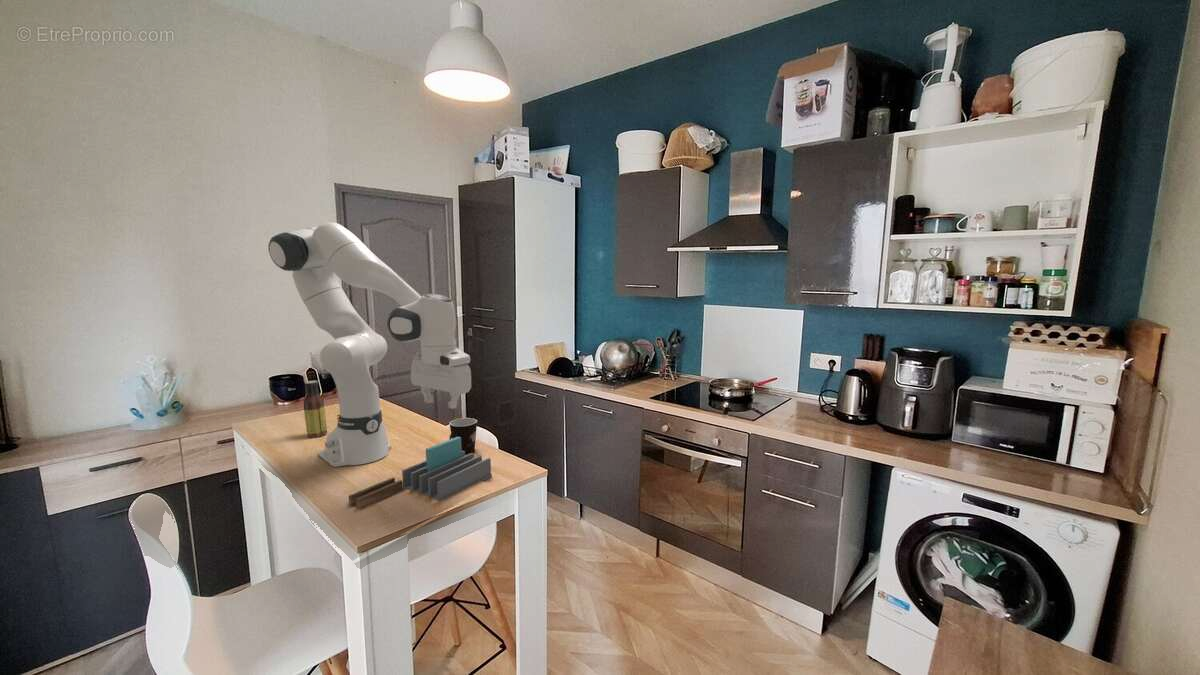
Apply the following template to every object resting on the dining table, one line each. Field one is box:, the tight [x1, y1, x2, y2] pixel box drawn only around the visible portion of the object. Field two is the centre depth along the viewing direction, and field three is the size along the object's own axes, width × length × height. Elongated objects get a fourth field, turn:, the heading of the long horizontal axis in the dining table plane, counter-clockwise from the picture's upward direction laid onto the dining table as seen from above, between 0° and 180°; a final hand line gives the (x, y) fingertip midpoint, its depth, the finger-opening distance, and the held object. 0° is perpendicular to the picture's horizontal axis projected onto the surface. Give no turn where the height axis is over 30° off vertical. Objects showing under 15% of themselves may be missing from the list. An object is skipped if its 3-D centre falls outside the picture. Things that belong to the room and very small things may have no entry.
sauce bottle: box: [303, 380, 328, 438], centre depth 161 cm, size 7×6×20 cm
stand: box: [347, 477, 406, 511], centre depth 115 cm, size 6×12×3 cm, turn 149°
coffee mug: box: [448, 417, 478, 456], centre depth 146 cm, size 12×9×10 cm
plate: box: [425, 437, 462, 472], centre depth 126 cm, size 1×11×10 cm, turn 149°
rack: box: [401, 451, 493, 502], centre depth 125 cm, size 15×18×6 cm
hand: (440, 405), depth 123 cm, fingers open, 8 cm apart
